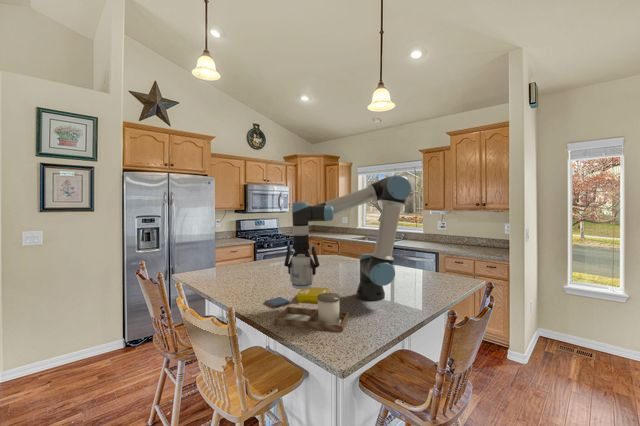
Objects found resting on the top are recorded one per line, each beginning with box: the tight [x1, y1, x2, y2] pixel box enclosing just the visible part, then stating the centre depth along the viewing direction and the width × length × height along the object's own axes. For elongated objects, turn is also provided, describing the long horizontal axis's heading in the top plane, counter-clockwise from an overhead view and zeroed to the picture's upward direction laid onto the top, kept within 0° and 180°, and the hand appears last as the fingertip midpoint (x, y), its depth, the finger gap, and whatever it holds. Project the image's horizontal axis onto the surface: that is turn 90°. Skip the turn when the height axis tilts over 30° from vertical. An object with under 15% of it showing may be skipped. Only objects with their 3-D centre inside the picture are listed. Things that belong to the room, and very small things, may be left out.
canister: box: [317, 292, 341, 324], centre depth 125 cm, size 9×9×11 cm
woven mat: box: [263, 296, 292, 309], centre depth 151 cm, size 10×11×2 cm
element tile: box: [296, 286, 330, 305], centre depth 159 cm, size 15×15×5 cm
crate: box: [274, 306, 350, 332], centre depth 127 cm, size 28×15×3 cm, turn 75°
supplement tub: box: [291, 254, 313, 290], centre depth 143 cm, size 10×10×15 cm
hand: (302, 281), depth 143 cm, fingers closed on supplement tub, 9 cm apart
